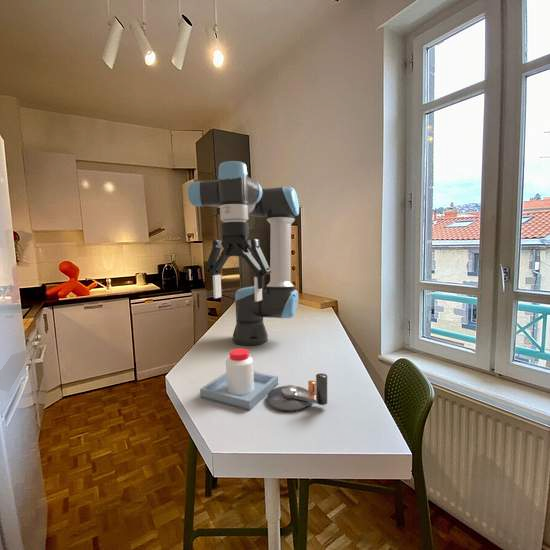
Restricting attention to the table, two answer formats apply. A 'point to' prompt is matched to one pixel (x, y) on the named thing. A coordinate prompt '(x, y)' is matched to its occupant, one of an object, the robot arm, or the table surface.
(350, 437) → the table surface
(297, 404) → the crank base
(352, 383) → the table surface
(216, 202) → the robot arm
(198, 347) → the table surface
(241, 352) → the pill bottle
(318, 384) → the crank
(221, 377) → the tray
